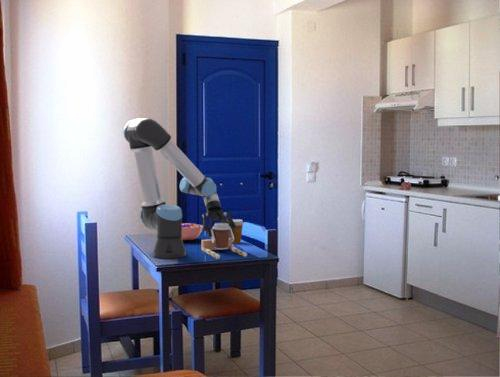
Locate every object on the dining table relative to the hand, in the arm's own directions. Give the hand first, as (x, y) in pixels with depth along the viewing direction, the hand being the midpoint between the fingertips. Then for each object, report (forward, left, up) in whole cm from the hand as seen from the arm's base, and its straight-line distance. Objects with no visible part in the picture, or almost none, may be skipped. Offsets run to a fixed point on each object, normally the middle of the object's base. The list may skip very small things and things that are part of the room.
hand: (223, 240), depth 283 cm
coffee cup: (+1, +3, -4) cm, 5 cm away
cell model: (+13, +38, -6) cm, 41 cm away
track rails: (-1, -1, -6) cm, 6 cm away
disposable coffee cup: (+25, +13, -6) cm, 29 cm away
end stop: (+5, +8, -6) cm, 11 cm away
